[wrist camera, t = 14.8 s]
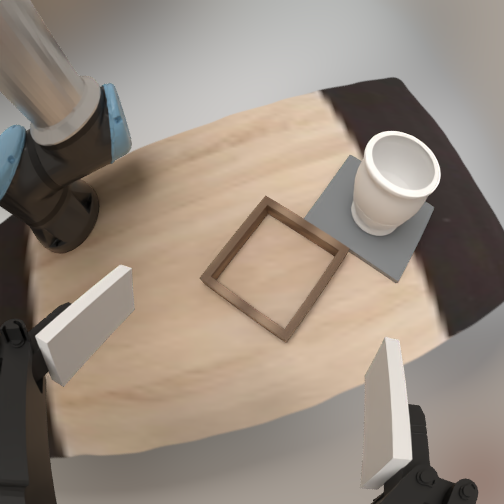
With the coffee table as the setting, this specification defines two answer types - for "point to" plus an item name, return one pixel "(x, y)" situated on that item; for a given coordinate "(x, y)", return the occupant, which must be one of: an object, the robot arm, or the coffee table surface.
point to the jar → (392, 182)
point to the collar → (242, 236)
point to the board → (360, 242)
